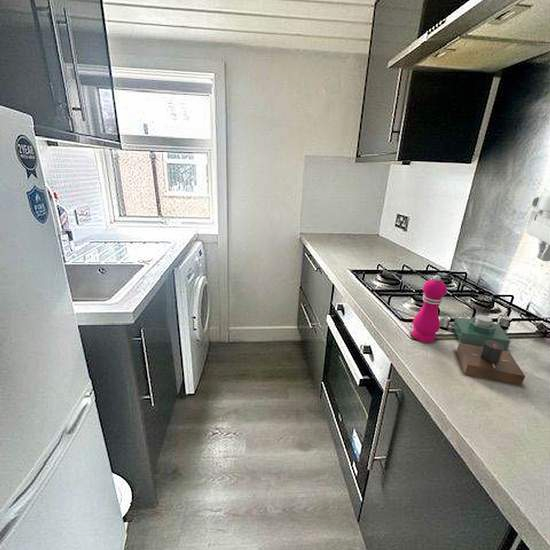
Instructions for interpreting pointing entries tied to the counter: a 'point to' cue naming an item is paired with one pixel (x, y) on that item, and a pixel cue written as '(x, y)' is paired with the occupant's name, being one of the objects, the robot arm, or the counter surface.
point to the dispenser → (479, 332)
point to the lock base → (489, 365)
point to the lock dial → (492, 351)
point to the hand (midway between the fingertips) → (542, 259)
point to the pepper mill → (429, 311)
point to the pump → (483, 321)
